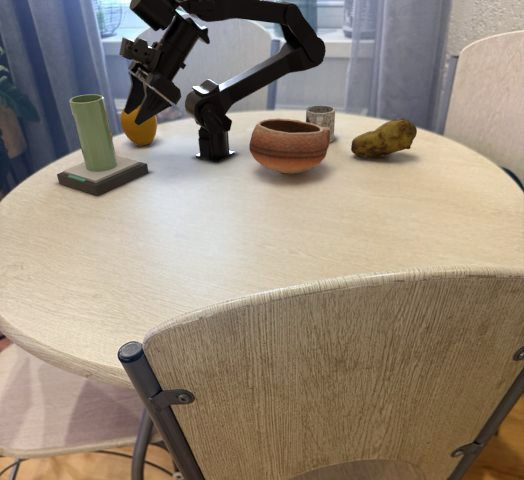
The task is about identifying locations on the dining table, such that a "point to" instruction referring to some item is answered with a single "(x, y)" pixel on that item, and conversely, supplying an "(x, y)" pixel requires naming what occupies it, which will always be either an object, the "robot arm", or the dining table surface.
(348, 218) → the dining table surface
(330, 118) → the mug
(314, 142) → the bowl
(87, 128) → the tumbler
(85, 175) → the scale
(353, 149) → the potato
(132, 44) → the robot arm
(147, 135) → the apple
